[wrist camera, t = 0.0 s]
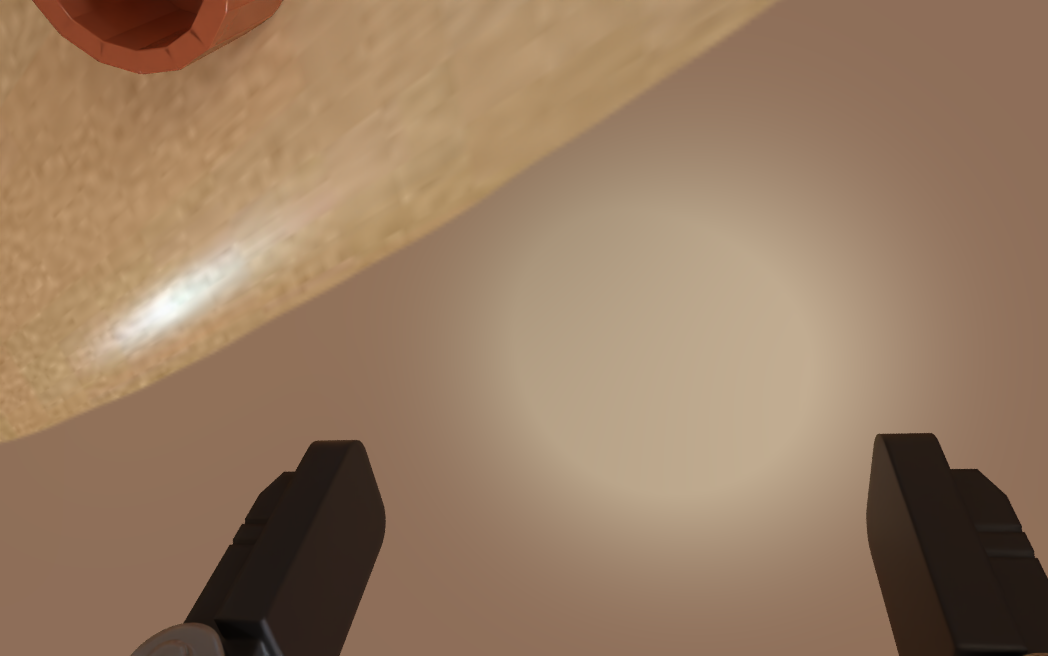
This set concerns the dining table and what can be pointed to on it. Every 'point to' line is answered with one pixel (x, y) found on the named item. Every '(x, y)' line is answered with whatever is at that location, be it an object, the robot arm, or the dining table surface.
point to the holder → (154, 28)
